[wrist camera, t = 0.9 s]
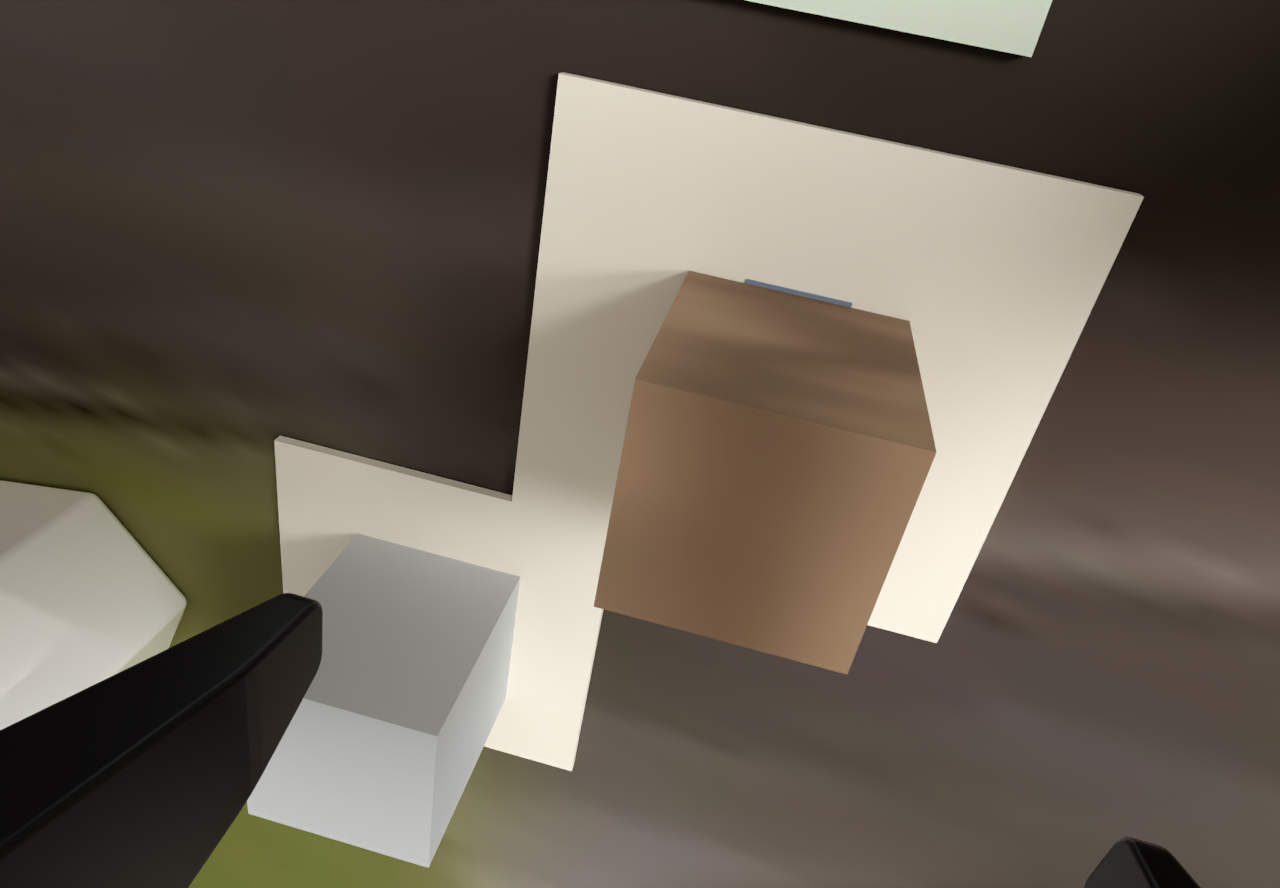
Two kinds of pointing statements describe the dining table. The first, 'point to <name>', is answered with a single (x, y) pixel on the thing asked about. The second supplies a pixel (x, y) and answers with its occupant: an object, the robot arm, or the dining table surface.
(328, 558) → the tile
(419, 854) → the grey block
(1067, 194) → the tile
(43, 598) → the jar
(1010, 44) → the sage pad
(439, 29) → the dining table surface
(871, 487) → the walnut block
